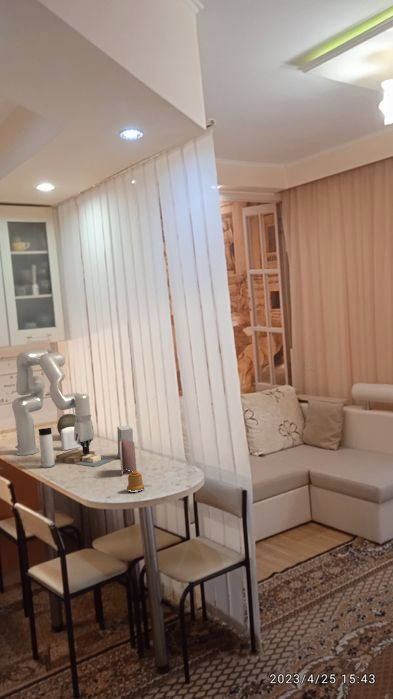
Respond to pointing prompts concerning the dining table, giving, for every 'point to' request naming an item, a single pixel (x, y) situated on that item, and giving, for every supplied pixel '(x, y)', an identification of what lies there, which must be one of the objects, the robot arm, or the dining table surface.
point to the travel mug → (46, 448)
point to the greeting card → (127, 455)
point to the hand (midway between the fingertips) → (86, 453)
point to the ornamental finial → (135, 481)
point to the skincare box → (124, 435)
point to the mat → (98, 463)
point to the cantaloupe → (66, 422)
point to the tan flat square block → (72, 456)
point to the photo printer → (68, 439)
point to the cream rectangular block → (91, 458)
